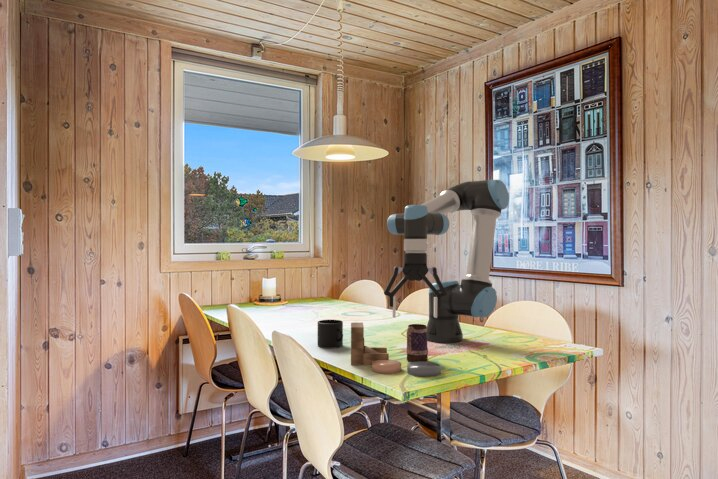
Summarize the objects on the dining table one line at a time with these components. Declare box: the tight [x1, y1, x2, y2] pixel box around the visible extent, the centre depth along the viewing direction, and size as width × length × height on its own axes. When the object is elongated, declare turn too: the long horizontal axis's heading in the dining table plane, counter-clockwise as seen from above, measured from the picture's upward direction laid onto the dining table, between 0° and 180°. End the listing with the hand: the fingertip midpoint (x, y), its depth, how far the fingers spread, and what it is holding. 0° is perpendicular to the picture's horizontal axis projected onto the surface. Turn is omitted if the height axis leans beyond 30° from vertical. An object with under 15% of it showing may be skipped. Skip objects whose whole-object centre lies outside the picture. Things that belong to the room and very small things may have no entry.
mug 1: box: [317, 319, 344, 349], centre depth 187 cm, size 9×12×9 cm
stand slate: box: [406, 361, 441, 378], centre depth 151 cm, size 10×10×2 cm
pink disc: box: [371, 359, 402, 375], centre depth 154 cm, size 9×9×2 cm
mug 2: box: [406, 323, 429, 363], centre depth 164 cm, size 10×7×12 cm
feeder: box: [350, 322, 390, 366], centre depth 164 cm, size 12×9×12 cm
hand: (414, 317), depth 164 cm, fingers open, 13 cm apart
